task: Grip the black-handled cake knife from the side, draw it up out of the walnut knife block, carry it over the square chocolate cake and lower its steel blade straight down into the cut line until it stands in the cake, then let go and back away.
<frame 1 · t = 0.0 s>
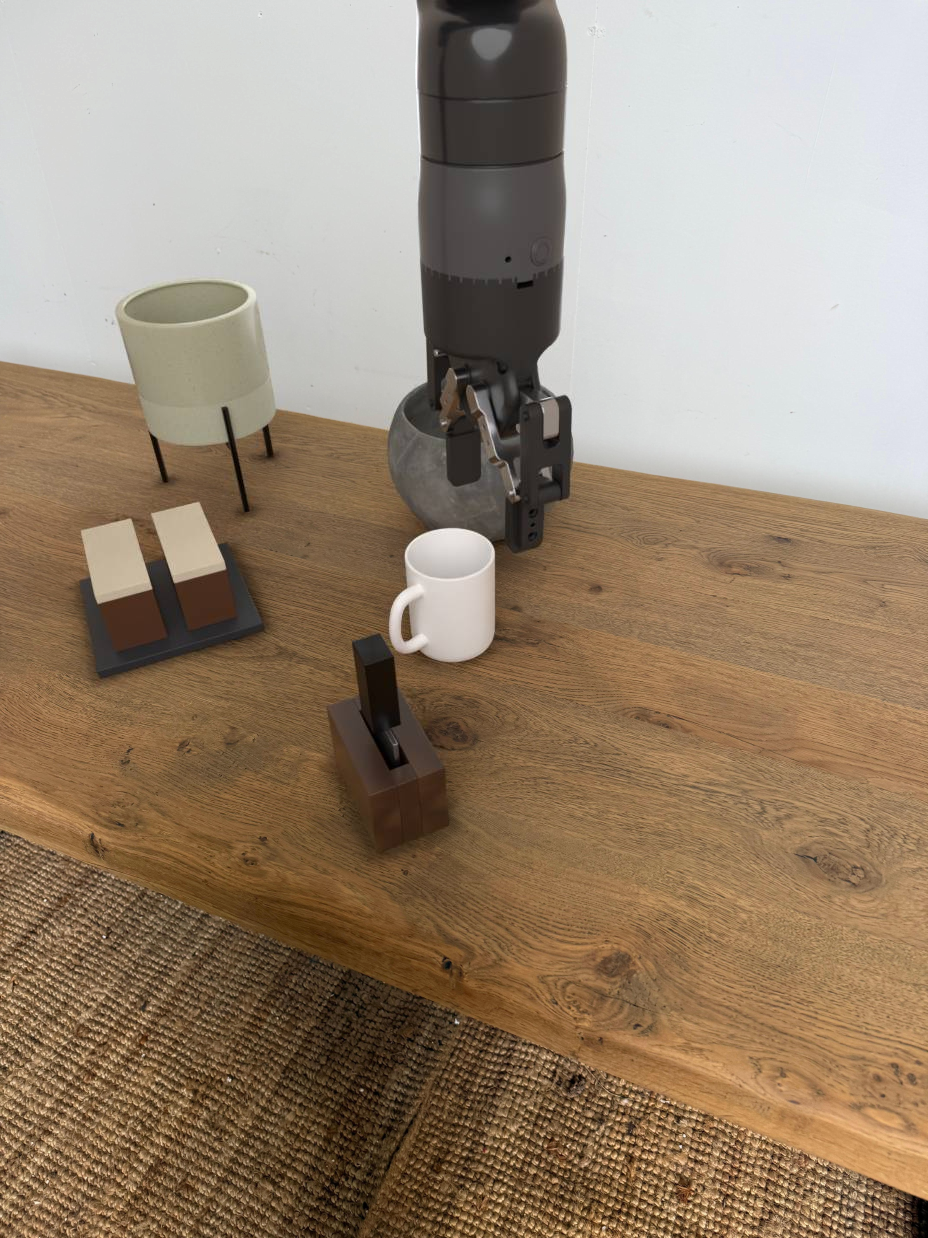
hand: (492, 513, 55), 26 cm above the table, tool pointing down, fingers open, 8 cm apart
knife: (382, 726, 66), in the knife block
planter: (225, 483, 110), on the table
cup: (440, 647, 85), on the table
cake: (170, 608, 90), on the table
knife block: (390, 794, 71), on the table
bowl: (480, 523, 102), on the table
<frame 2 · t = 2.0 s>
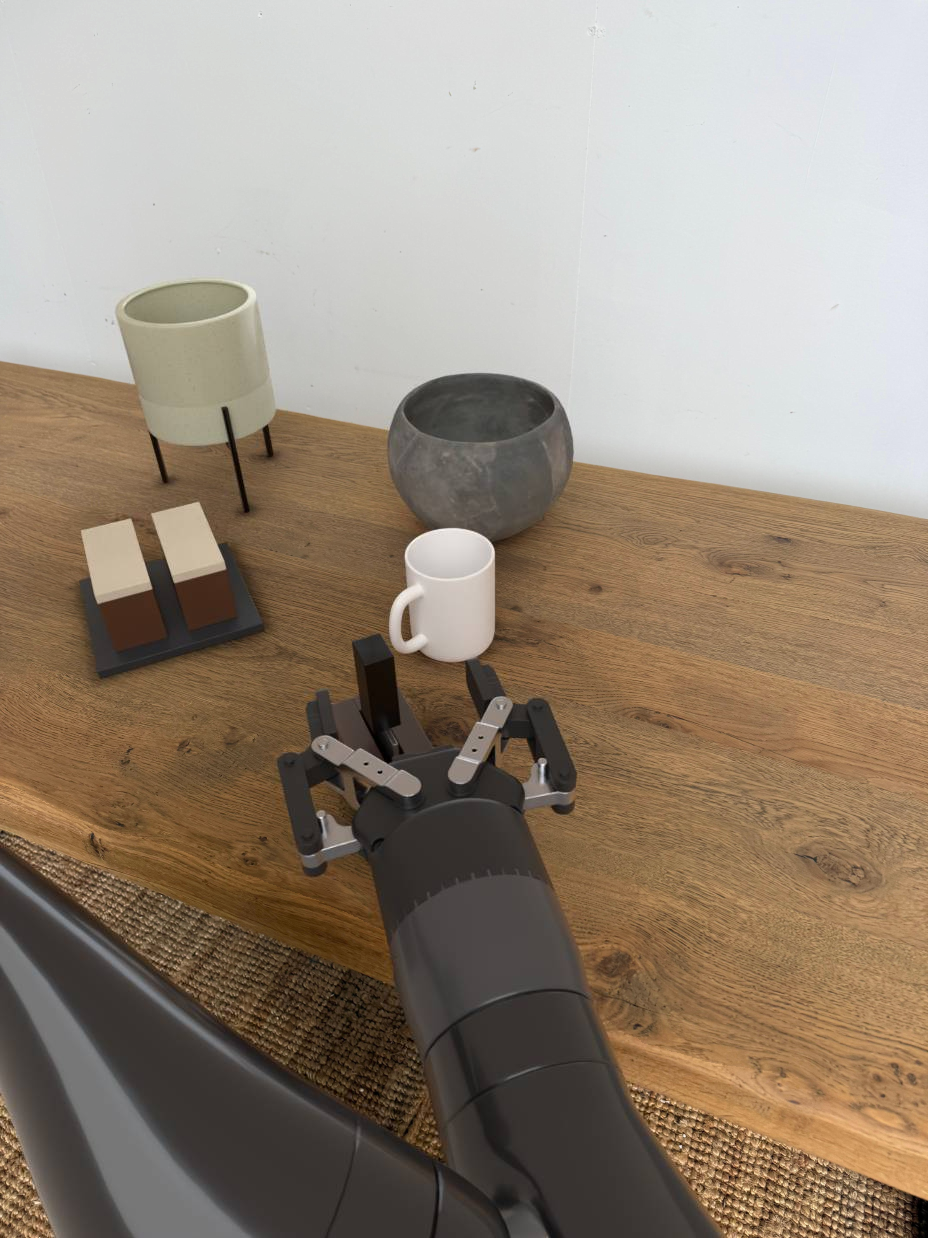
hand: (398, 684, 49), 22 cm above the table, tool horizontal, fingers open, 8 cm apart
nothing on the table moved.
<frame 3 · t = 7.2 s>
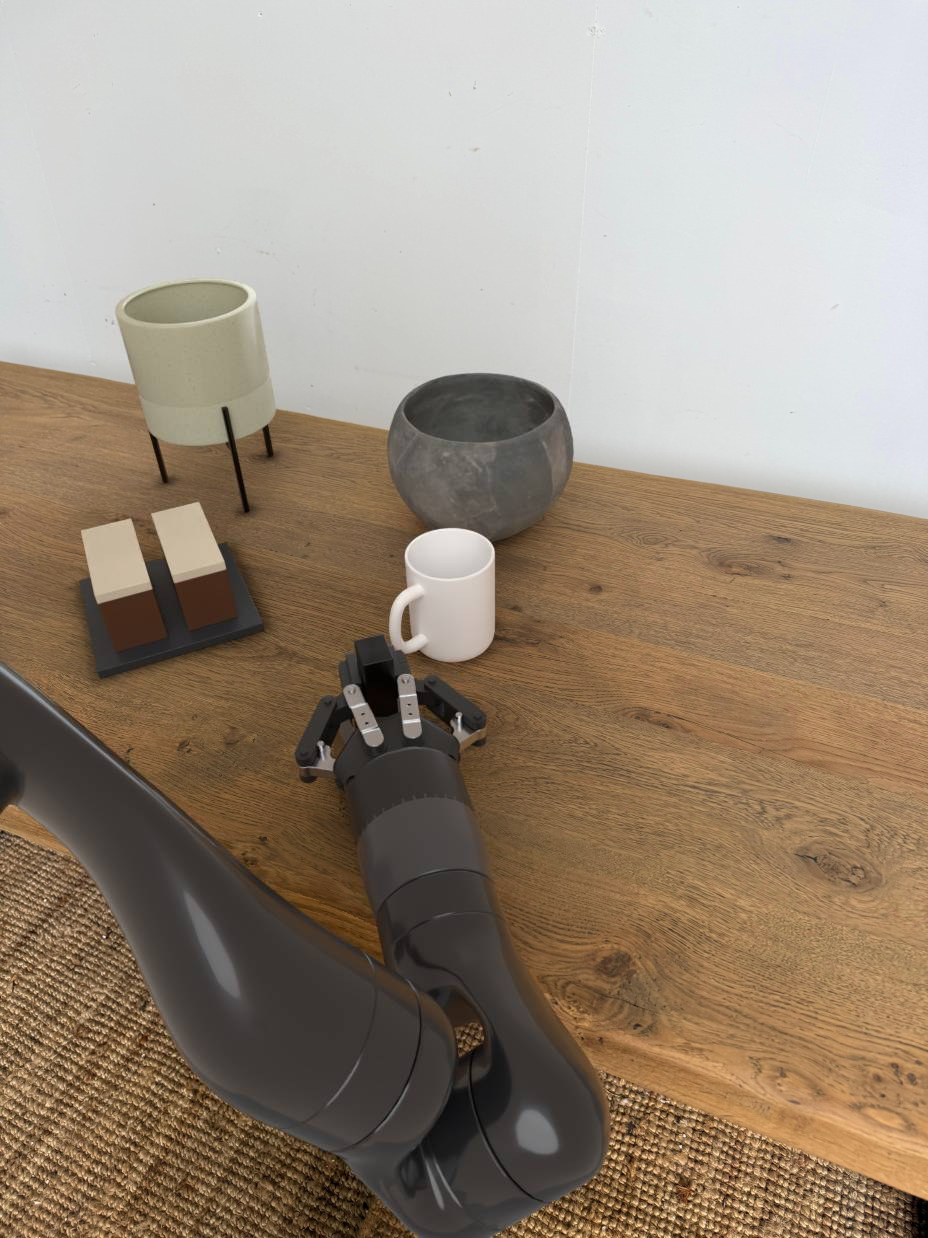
hand: (369, 658, 65), 13 cm above the table, tool horizontal, fingers closed on knife, 2 cm apart
knife: (382, 727, 66), in the knife block, touching gripper
everything else where it was.
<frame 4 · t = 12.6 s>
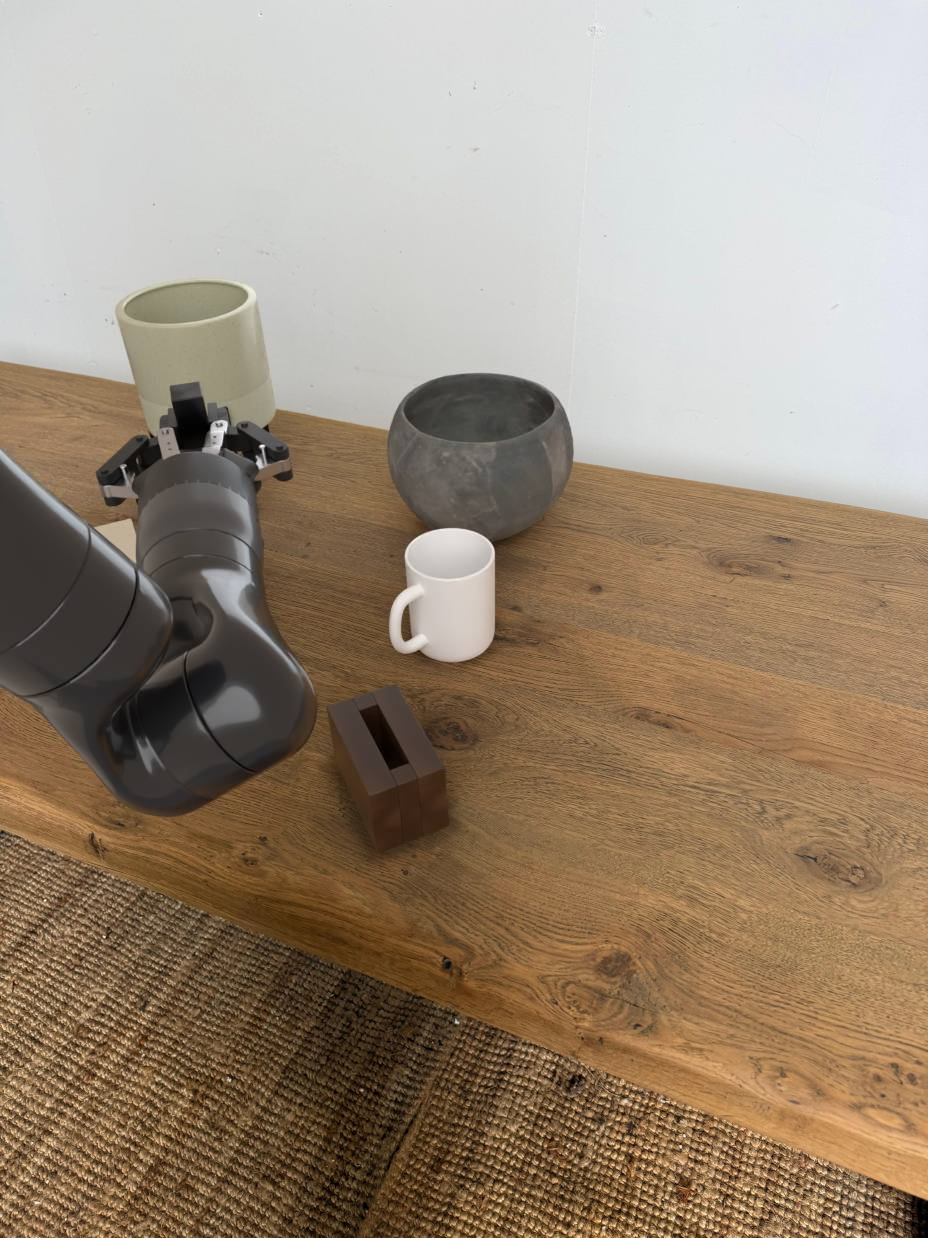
hand: (194, 416, 67), 26 cm above the table, tool horizontal, fingers closed on knife, 2 cm apart
knife: (209, 486, 68), point 21 cm above the table, touching gripper
everything else where it was.
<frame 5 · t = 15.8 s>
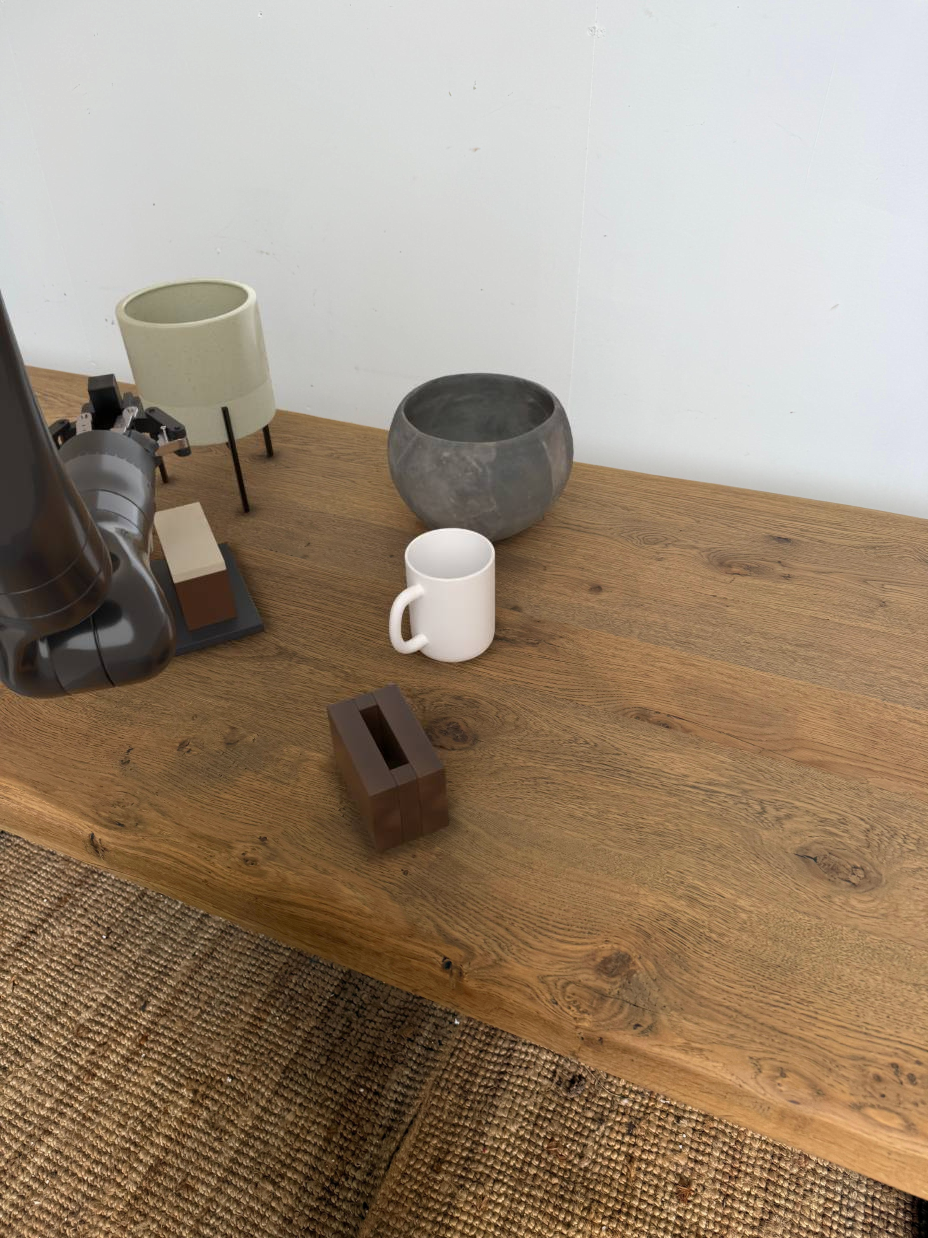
hand: (114, 404, 79), 22 cm above the table, tool horizontal, fingers closed on knife, 2 cm apart
knife: (127, 463, 79), point 17 cm above the table, touching gripper
everything else where it was.
when the fingers open (14 cm above the table, at t = 18.2 s): knife stays where it is, resting on cake.
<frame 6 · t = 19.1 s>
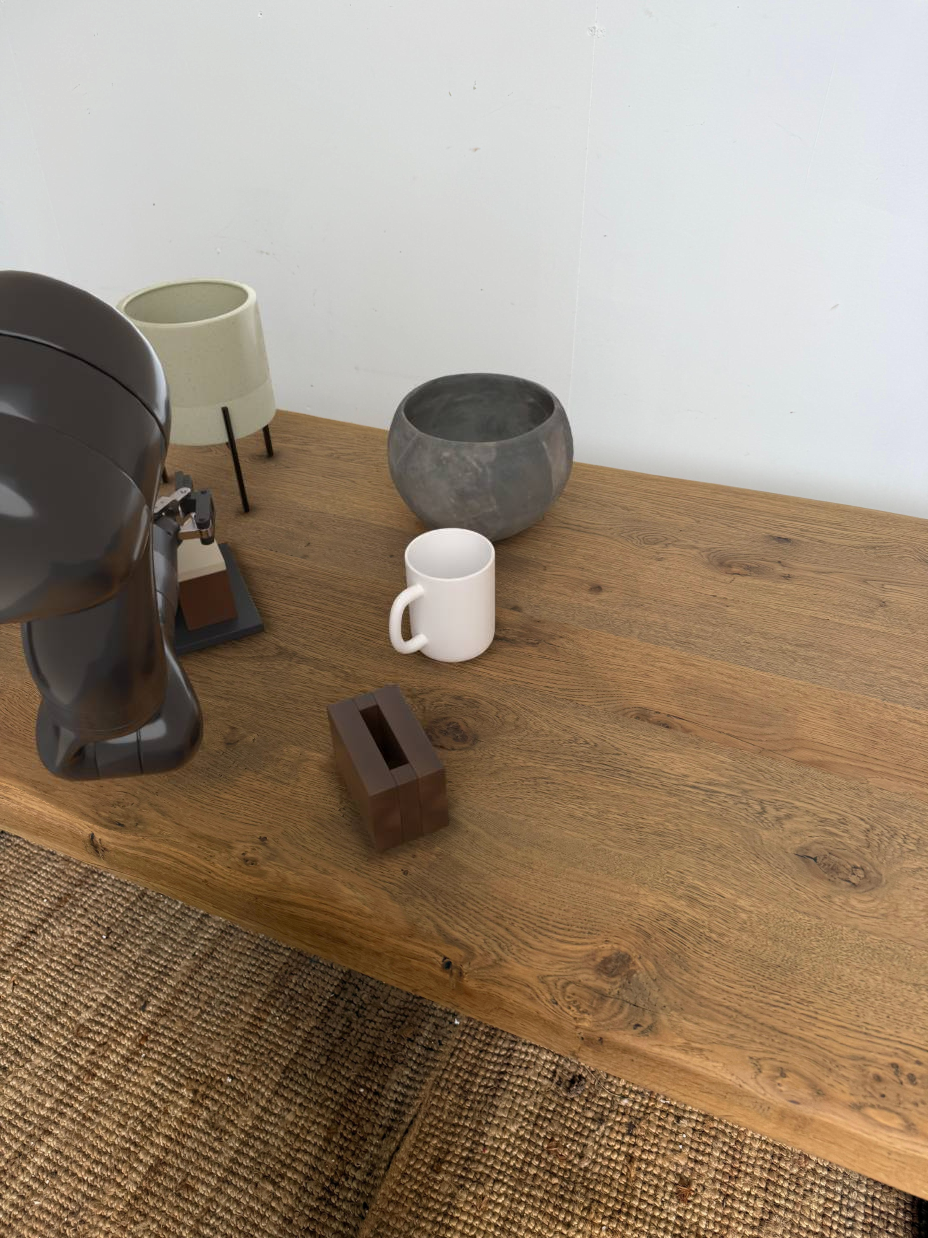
hand: (135, 485, 83), 14 cm above the table, tool horizontal, fingers open, 8 cm apart
knife: (149, 537, 84), point 9 cm above the table, touching cake
everything else where it was.
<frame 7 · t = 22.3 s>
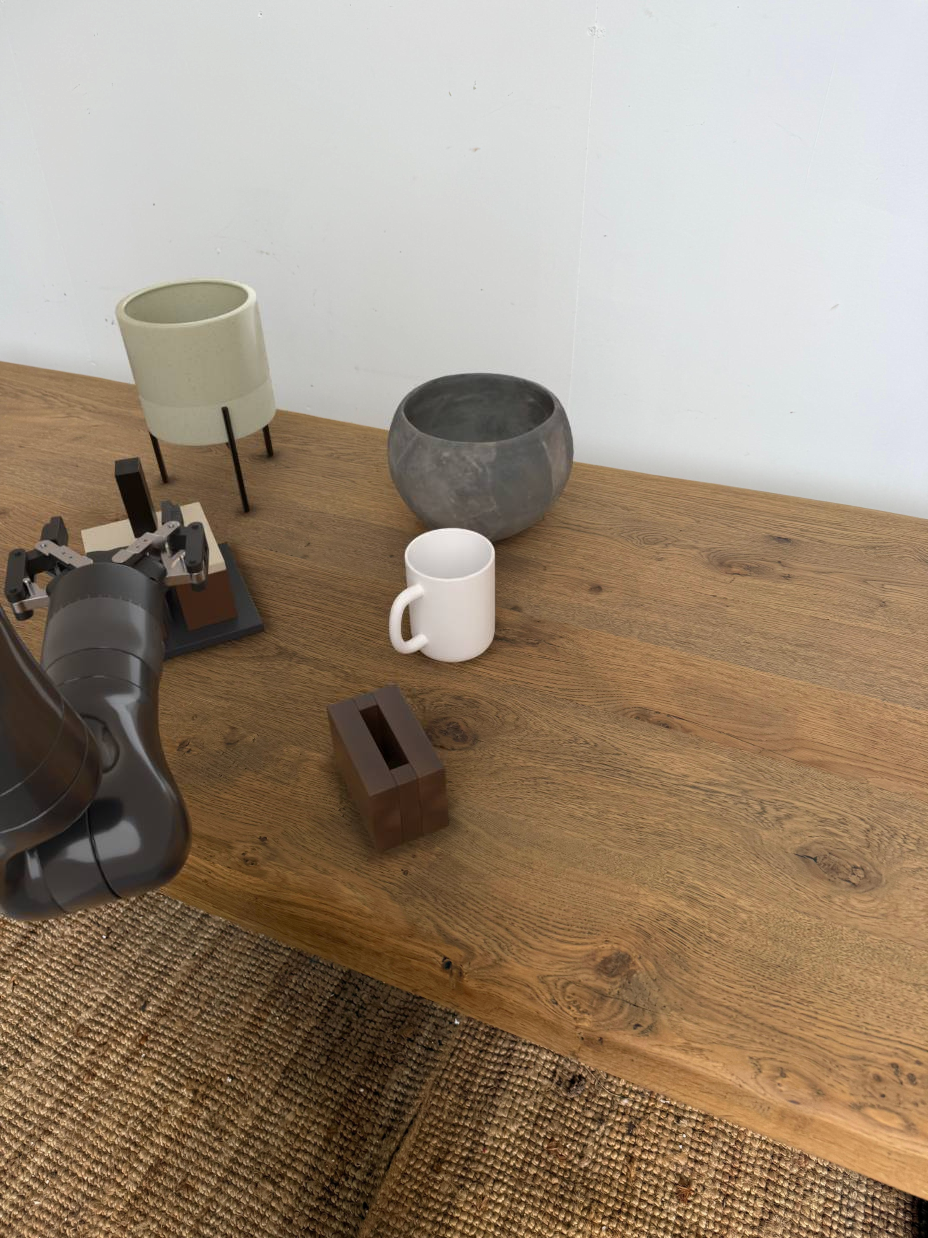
hand: (114, 517, 71), 18 cm above the table, tool horizontal, fingers open, 8 cm apart
nothing on the table moved.
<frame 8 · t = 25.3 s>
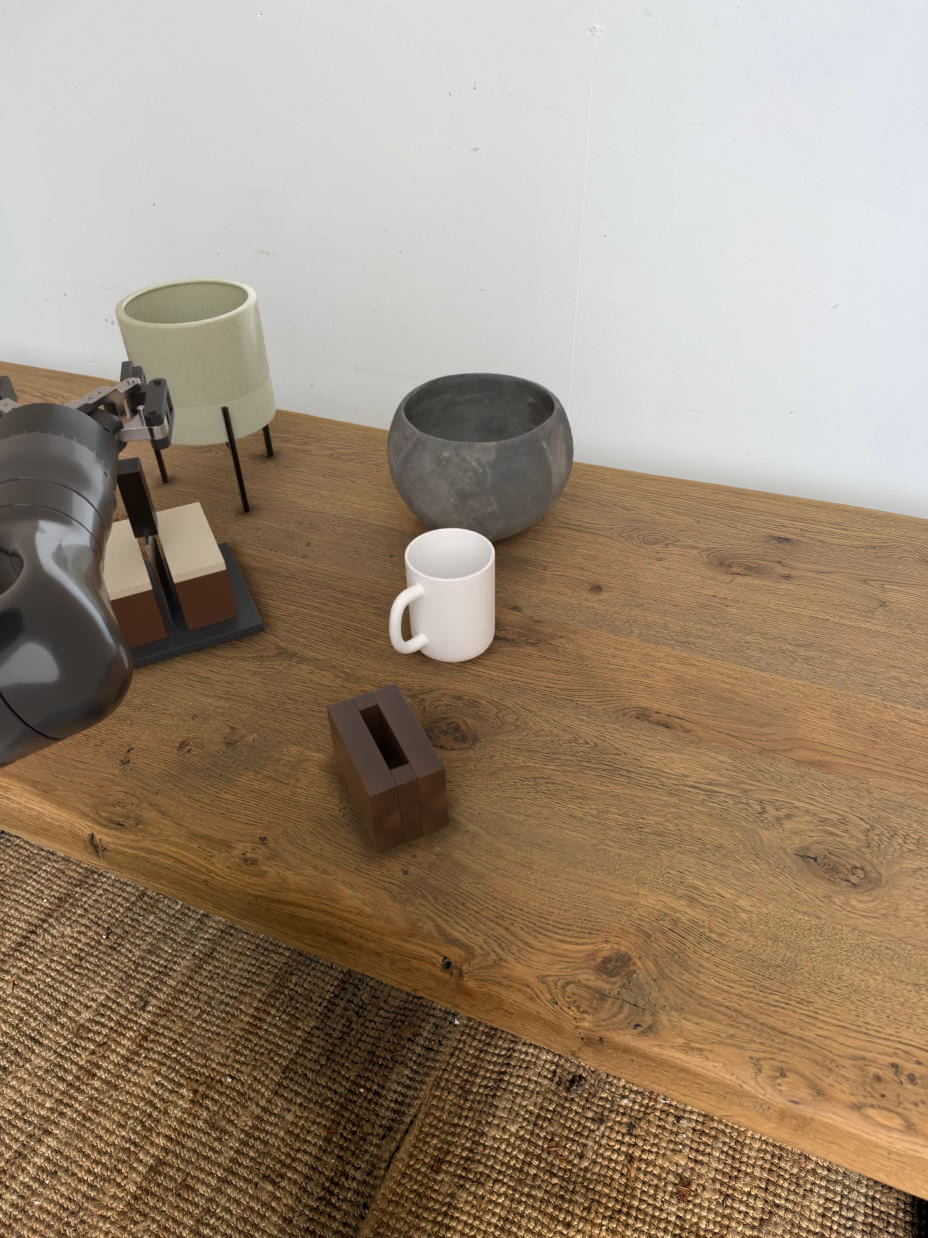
hand: (69, 380, 63), 30 cm above the table, tool horizontal, fingers open, 8 cm apart
nothing on the table moved.
at the end: knife 0.2 cm off-centre on the cake, point 9.0 cm above the cake's base; knife tilted 0°; the gripper is holding nothing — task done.
